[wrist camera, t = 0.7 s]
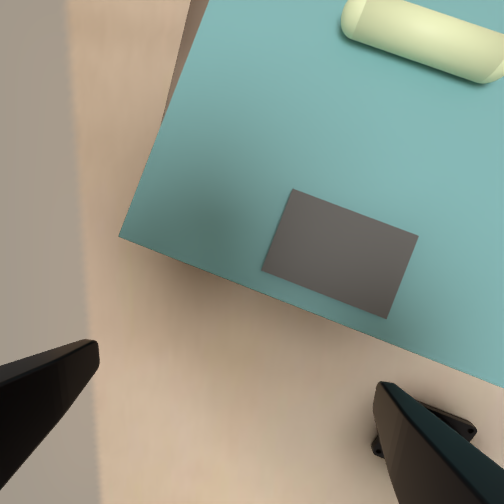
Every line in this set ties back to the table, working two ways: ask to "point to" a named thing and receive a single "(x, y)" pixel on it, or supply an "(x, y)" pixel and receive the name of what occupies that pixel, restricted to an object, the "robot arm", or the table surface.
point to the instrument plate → (344, 167)
